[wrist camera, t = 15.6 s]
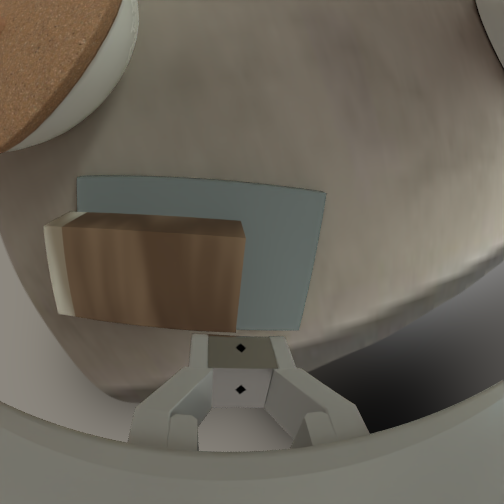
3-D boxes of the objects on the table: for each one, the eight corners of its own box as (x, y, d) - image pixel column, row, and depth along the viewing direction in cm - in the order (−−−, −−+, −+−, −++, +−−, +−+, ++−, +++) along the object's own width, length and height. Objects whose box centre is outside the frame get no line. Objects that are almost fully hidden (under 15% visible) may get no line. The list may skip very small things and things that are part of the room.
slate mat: (321, 191, 16) (326, 193, 15) (295, 323, 19) (298, 330, 18) (83, 175, 14) (77, 177, 13) (94, 309, 17) (90, 316, 16)
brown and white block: (245, 238, 12) (43, 225, 11) (235, 332, 14) (58, 313, 12) (240, 220, 15) (70, 211, 13) (232, 302, 17) (78, 288, 15)
